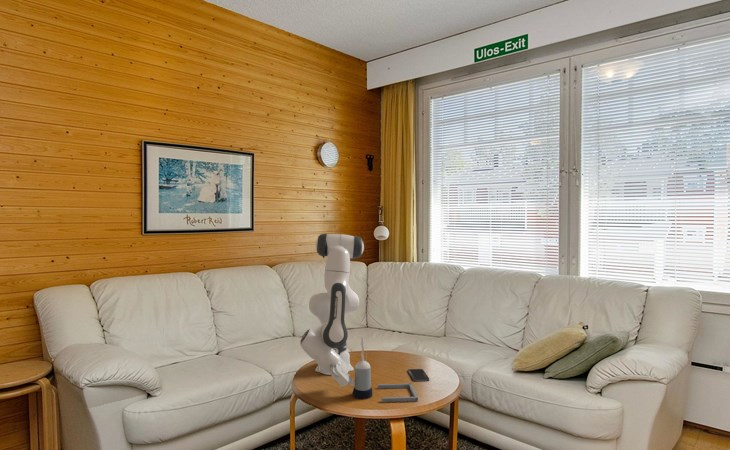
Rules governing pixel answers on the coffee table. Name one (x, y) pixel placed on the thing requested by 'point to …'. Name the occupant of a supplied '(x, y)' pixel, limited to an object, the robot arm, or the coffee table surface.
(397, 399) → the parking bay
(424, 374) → the phone
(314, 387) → the coffee table surface
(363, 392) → the humidifier
